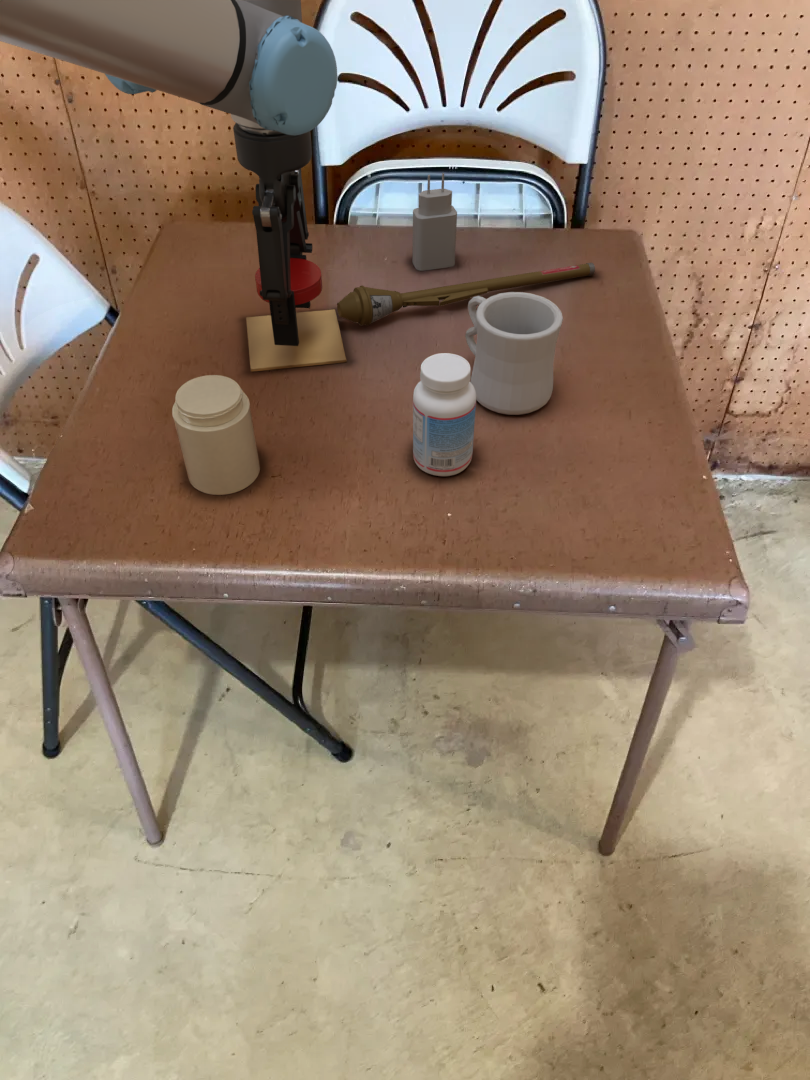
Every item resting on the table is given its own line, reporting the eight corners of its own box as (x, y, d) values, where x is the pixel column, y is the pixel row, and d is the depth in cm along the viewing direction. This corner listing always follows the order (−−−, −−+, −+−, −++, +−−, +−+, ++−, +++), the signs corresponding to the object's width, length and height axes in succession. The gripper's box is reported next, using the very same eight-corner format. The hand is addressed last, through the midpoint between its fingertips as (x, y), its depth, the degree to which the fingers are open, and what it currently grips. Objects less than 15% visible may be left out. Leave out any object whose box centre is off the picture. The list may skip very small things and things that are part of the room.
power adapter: (411, 260, 114) (411, 171, 105) (449, 255, 115) (453, 166, 106) (417, 271, 112) (418, 181, 103) (456, 266, 113) (460, 176, 104)
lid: (299, 265, 99) (298, 251, 98) (335, 291, 95) (334, 276, 94) (244, 285, 96) (242, 271, 95) (280, 313, 92) (278, 298, 91)
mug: (568, 397, 93) (582, 318, 86) (507, 429, 89) (516, 348, 82) (494, 347, 100) (501, 269, 92) (434, 374, 96) (437, 295, 89)
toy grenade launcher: (578, 274, 114) (596, 294, 111) (332, 314, 104) (345, 337, 101) (587, 242, 110) (605, 262, 108) (333, 281, 100) (346, 304, 97)
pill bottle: (482, 452, 87) (490, 360, 78) (452, 486, 83) (458, 394, 75) (432, 432, 89) (435, 341, 81) (401, 464, 85) (400, 372, 77)
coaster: (250, 371, 96) (250, 369, 96) (246, 320, 104) (246, 317, 103) (346, 362, 98) (346, 359, 97) (335, 311, 105) (335, 309, 105)
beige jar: (187, 499, 82) (167, 422, 75) (187, 451, 87) (169, 375, 80) (262, 490, 83) (249, 413, 76) (258, 443, 87) (245, 367, 81)
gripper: (290, 164, 75) (310, 376, 92) (324, 85, 89) (337, 281, 106) (207, 161, 76) (243, 373, 92) (254, 82, 89) (278, 279, 106)
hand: (293, 324), depth 99 cm, fingers closed on lid, 7 cm apart
